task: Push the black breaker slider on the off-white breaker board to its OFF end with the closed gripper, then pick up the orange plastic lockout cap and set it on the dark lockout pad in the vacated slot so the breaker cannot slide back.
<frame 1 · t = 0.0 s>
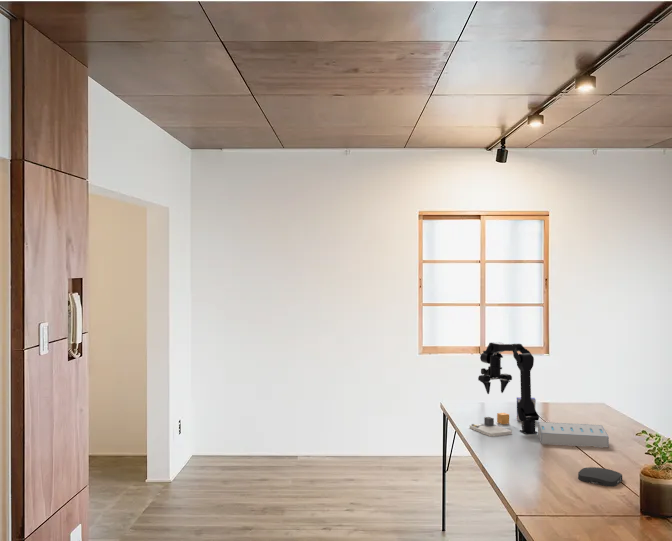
hand: (495, 393, 350), 15 cm above the table, fingers open, 9 cm apart
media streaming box: (600, 480, 252), on the table
warehouse: (572, 443, 307), on the table
lockout cap: (503, 423, 343), on the table
breaker board: (490, 431, 326), on the table
breaker slider: (489, 421, 333), point 3 cm above the table, slide at 0.0 cm
ink cartridge box: (525, 420, 350), on the table
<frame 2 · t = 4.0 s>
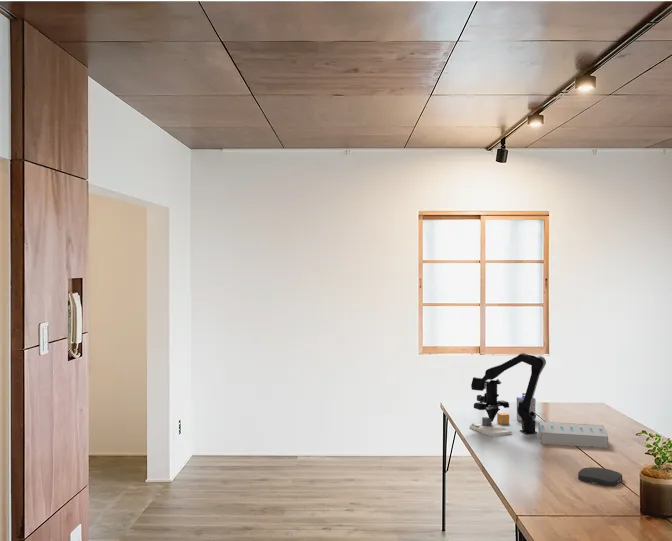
hand: (491, 421, 333), 3 cm above the table, fingers closed
breaker slider: (486, 421, 332), point 3 cm above the table, slide at 1.4 cm, touching gripper
everything else where it was.
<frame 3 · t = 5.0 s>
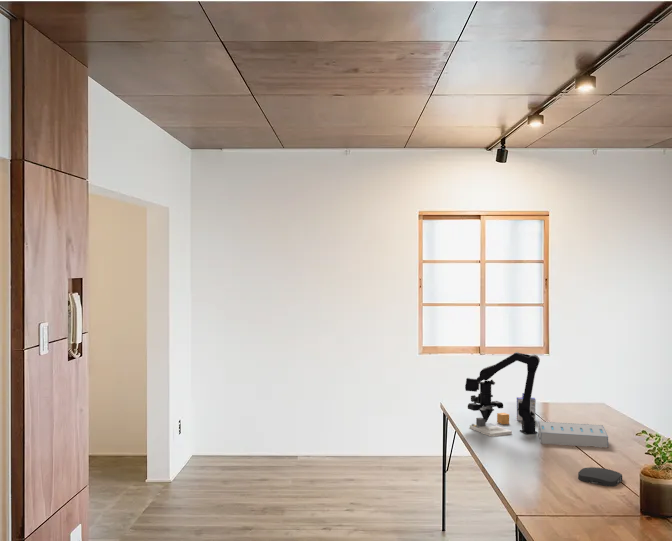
hand: (485, 422, 332), 3 cm above the table, fingers closed
breaker slider: (480, 421, 331), point 3 cm above the table, slide at 5.0 cm, touching gripper
everything else where it was.
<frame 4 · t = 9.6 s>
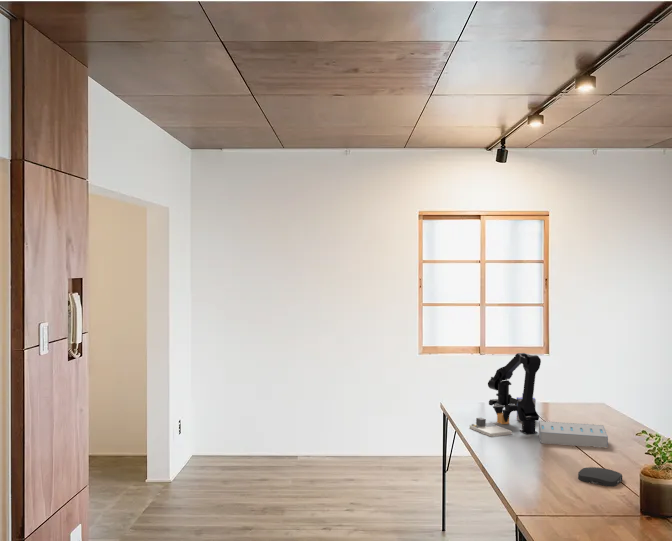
hand: (503, 421, 343), 1 cm above the table, fingers closed on lockout cap, 4 cm apart
lockout cap: (503, 423, 343), on the table, touching gripper
breaker slider: (480, 421, 331), point 3 cm above the table, slide at 5.0 cm
everything else where it was.
when the fingers open (3 cm above the table, at t = 14.5 s): lockout cap stays where it is, resting on breaker board.
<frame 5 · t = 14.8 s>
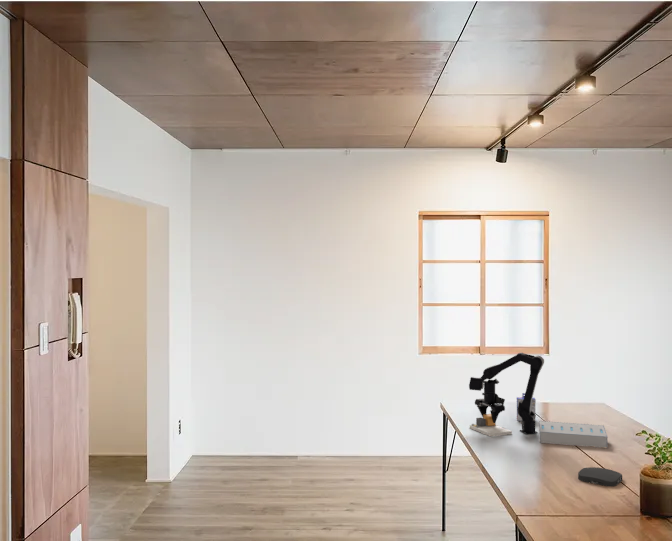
hand: (489, 421, 333), 3 cm above the table, fingers open, 8 cm apart
lockout cap: (489, 424, 333), point 2 cm above the table, touching breaker board
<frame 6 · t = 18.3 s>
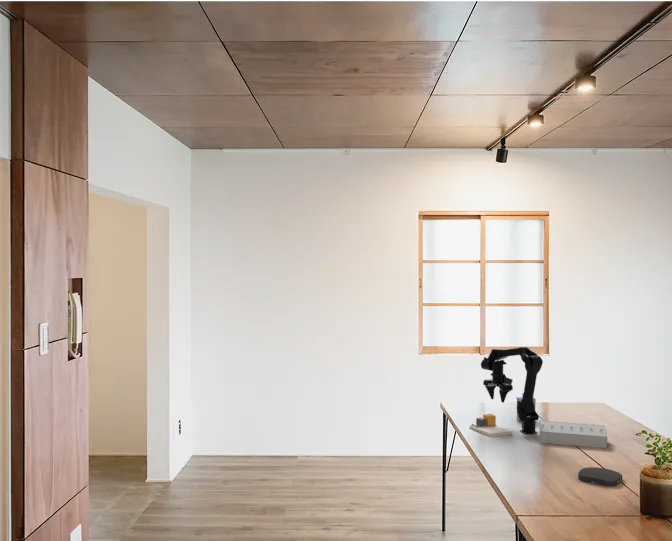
hand: (497, 400, 343), 12 cm above the table, fingers open, 9 cm apart
at the end: breaker slider slide at 5.0 cm; lockout cap 0.2 cm from the target spot on the breaker board, point 1.6 cm above the breaker board's base; lockout cap tilted 0° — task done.
